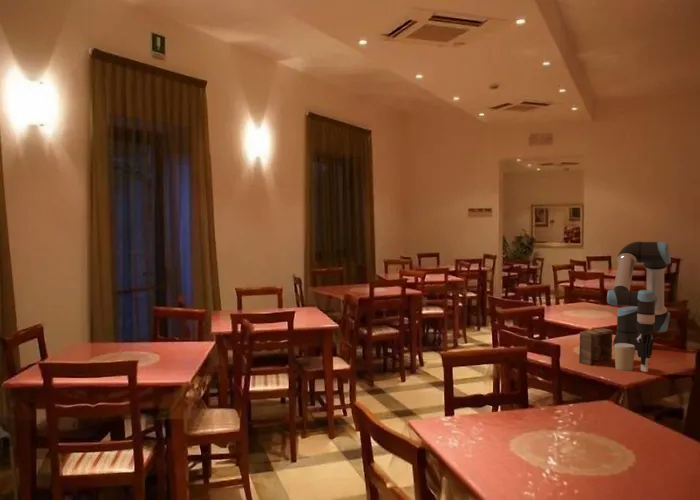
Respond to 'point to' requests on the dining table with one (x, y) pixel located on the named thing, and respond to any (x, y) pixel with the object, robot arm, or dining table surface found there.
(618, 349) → the coffee cup
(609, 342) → the cubby
